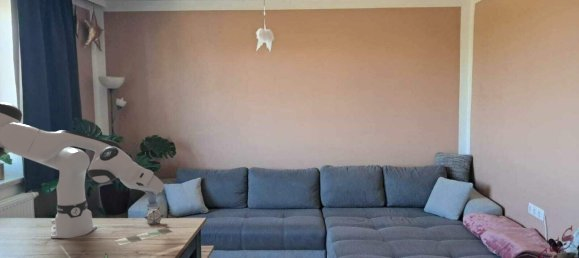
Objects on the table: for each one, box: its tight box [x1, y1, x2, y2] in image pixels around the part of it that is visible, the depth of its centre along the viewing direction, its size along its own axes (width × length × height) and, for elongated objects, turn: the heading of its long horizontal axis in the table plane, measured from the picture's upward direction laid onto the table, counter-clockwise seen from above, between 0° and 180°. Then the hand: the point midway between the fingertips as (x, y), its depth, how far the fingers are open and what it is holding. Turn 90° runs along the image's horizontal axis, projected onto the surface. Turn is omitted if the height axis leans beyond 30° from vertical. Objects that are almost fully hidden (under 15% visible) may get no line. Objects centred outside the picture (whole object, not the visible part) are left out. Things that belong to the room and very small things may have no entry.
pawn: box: [146, 191, 159, 208], centre depth 178 cm, size 4×4×11 cm
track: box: [114, 227, 173, 246], centre depth 178 cm, size 7×22×1 cm, turn 130°
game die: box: [144, 207, 164, 225], centre depth 194 cm, size 9×8×10 cm
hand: (152, 192), depth 179 cm, fingers closed on pawn, 3 cm apart
